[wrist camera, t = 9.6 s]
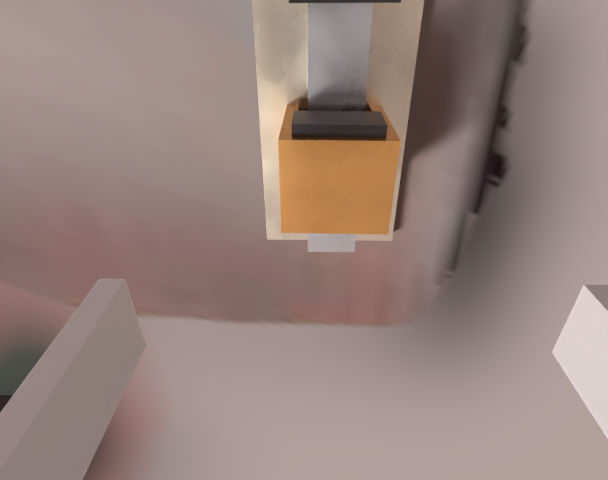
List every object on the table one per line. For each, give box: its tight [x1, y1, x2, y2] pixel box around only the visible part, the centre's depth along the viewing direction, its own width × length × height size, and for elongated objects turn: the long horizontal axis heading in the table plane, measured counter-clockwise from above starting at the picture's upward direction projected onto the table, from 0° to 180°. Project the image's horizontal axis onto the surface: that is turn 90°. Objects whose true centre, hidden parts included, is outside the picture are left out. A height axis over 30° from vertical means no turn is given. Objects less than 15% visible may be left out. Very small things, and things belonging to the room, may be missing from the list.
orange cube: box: [278, 105, 401, 235], centre depth 22 cm, size 6×6×6 cm
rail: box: [252, 0, 424, 252], centre depth 20 cm, size 24×9×8 cm, turn 0°
